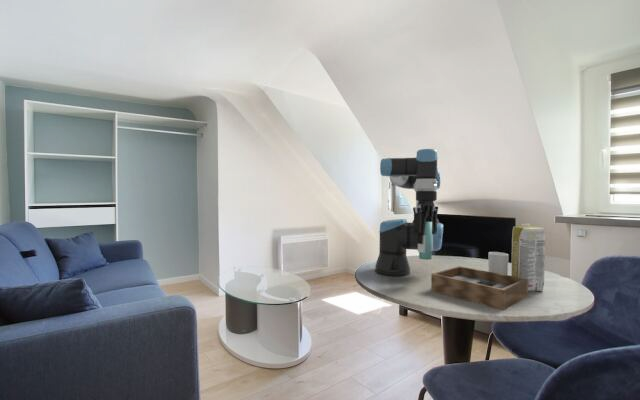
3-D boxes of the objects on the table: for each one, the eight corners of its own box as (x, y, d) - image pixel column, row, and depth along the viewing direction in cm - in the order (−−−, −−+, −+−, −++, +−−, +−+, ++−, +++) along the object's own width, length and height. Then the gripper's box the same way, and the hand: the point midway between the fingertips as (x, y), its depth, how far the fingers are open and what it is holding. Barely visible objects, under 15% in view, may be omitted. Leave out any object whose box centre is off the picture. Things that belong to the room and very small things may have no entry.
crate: (431, 290, 113) (431, 273, 113) (459, 281, 126) (459, 266, 126) (503, 310, 95) (503, 290, 95) (527, 296, 107) (528, 279, 107)
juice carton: (532, 285, 121) (533, 222, 120) (547, 292, 113) (549, 225, 112) (508, 285, 121) (509, 222, 120) (521, 291, 113) (523, 224, 112)
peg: (416, 258, 121) (417, 221, 121) (423, 256, 124) (423, 221, 124) (427, 260, 118) (427, 222, 117) (433, 258, 120) (434, 222, 120)
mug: (510, 287, 118) (511, 255, 117) (491, 286, 119) (492, 254, 119) (500, 280, 128) (501, 250, 127) (482, 279, 129) (483, 250, 129)
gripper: (421, 190, 112) (420, 256, 112) (447, 190, 123) (446, 250, 123) (403, 190, 117) (403, 252, 118) (430, 190, 128) (429, 247, 129)
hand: (425, 251), depth 121 cm, fingers closed on peg, 4 cm apart
